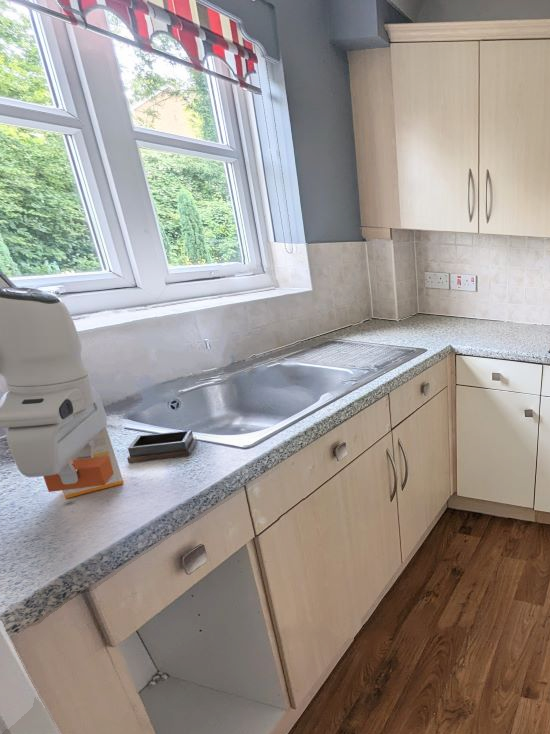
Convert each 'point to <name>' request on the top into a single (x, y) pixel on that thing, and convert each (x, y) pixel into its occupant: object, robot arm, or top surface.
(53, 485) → the block
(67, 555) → the top surface
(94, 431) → the robot arm
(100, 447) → the supplement box
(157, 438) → the dark grey tray
